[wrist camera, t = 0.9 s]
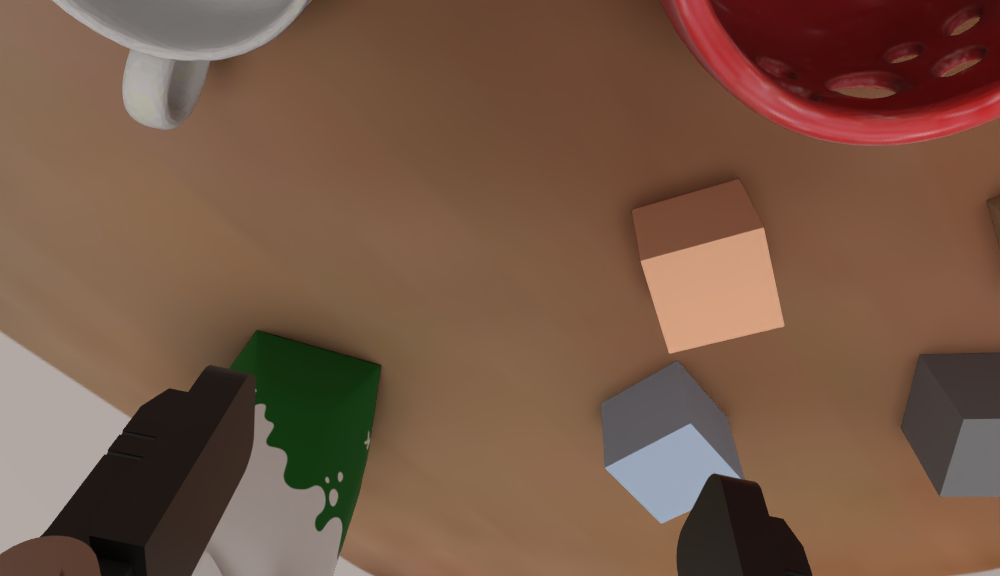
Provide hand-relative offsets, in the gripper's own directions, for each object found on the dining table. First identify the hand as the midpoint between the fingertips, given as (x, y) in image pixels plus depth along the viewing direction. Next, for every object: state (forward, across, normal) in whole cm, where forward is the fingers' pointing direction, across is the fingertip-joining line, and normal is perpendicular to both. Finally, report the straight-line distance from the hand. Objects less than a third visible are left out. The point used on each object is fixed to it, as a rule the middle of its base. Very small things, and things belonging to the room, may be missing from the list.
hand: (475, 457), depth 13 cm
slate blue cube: (+22, -11, +16) cm, 30 cm away
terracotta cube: (+22, -9, +5) cm, 25 cm away
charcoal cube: (+22, -26, +11) cm, 36 cm away
